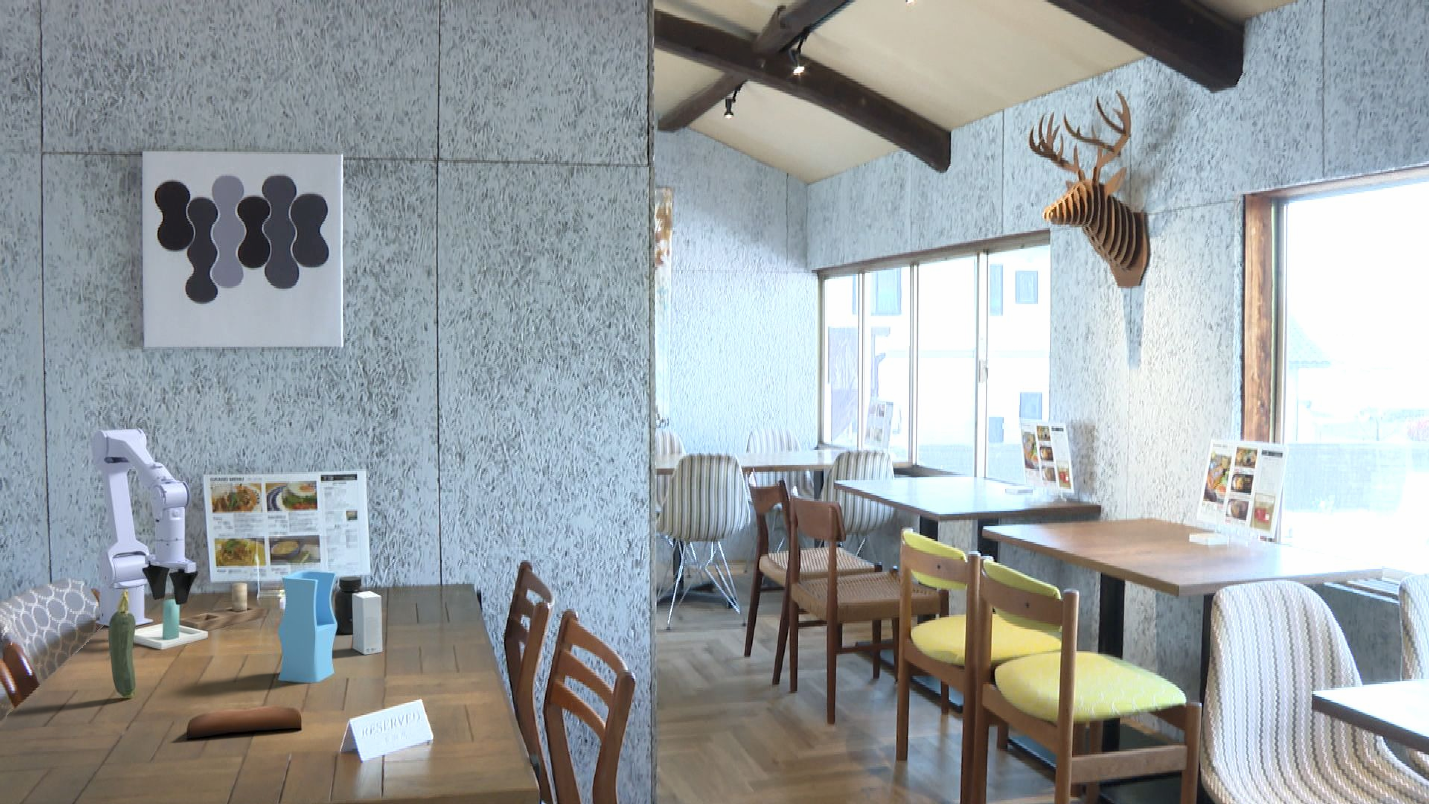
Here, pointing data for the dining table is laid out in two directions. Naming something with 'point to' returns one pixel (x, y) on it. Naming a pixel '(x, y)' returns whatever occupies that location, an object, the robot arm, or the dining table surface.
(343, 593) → the supplement bottle
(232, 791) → the dining table surface
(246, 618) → the rack
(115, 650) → the vegetable
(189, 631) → the tray
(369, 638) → the skincare box
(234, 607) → the birch dowel
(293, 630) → the vase
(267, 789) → the dining table surface
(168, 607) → the teal dowel
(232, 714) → the sunglasses case
